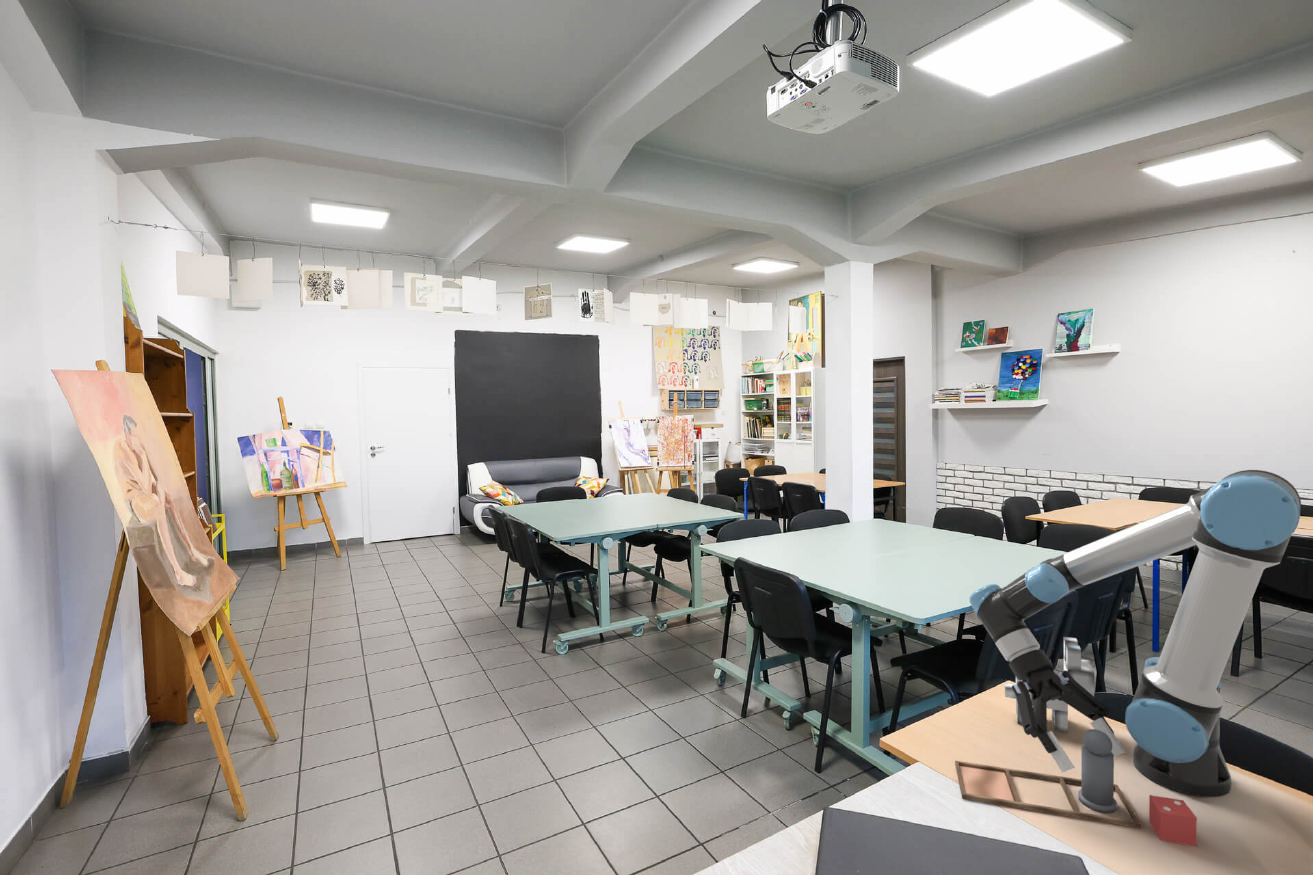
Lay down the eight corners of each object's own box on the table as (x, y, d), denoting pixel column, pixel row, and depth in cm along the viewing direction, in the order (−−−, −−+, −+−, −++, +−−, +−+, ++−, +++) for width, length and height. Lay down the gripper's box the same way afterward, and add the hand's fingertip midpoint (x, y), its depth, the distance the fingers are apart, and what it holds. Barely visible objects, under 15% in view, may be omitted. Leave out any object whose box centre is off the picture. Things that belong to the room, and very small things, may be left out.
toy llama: (1004, 707, 155) (1004, 629, 154) (1088, 722, 147) (1088, 639, 146) (1005, 721, 148) (1005, 640, 147) (1094, 737, 140) (1094, 651, 139)
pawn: (1110, 795, 120) (1110, 725, 119) (1121, 815, 114) (1122, 741, 113) (1074, 790, 122) (1074, 720, 121) (1083, 809, 116) (1083, 736, 115)
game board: (1117, 788, 122) (1117, 784, 122) (1141, 828, 111) (1141, 823, 110) (955, 764, 132) (955, 760, 132) (962, 798, 120) (962, 794, 120)
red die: (1183, 826, 110) (1183, 799, 110) (1196, 846, 106) (1196, 817, 106) (1149, 821, 112) (1149, 794, 112) (1160, 839, 107) (1161, 811, 107)
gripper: (1056, 653, 138) (1125, 754, 124) (968, 672, 130) (1032, 782, 116) (1079, 638, 132) (1154, 741, 119) (989, 657, 124) (1059, 770, 111)
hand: (1094, 762), depth 118 cm, fingers open, 13 cm apart
